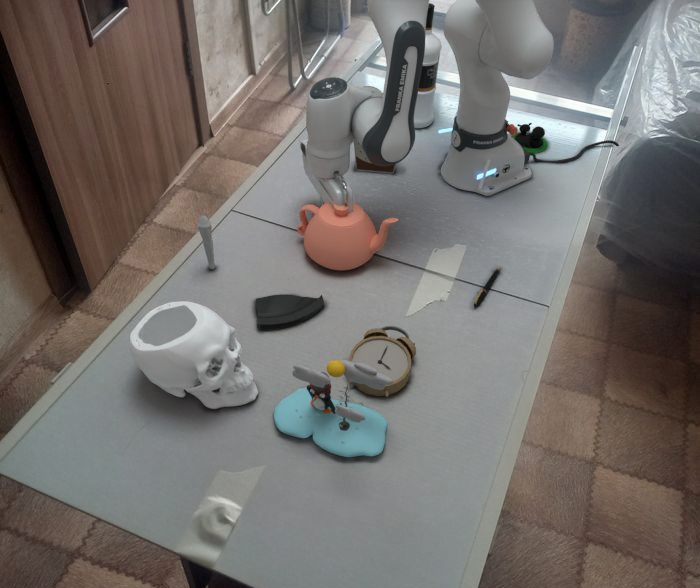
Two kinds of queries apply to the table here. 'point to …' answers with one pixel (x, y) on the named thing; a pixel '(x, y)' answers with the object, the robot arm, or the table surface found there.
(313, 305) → the dark sector wedge
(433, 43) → the vodka
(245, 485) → the table surface
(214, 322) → the skull planter
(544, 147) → the toy figurine
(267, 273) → the table surface
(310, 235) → the teapot
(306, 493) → the table surface
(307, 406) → the penguin figurine
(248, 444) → the table surface
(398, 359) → the alarm clock
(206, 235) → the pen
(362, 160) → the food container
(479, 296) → the fountain pen
